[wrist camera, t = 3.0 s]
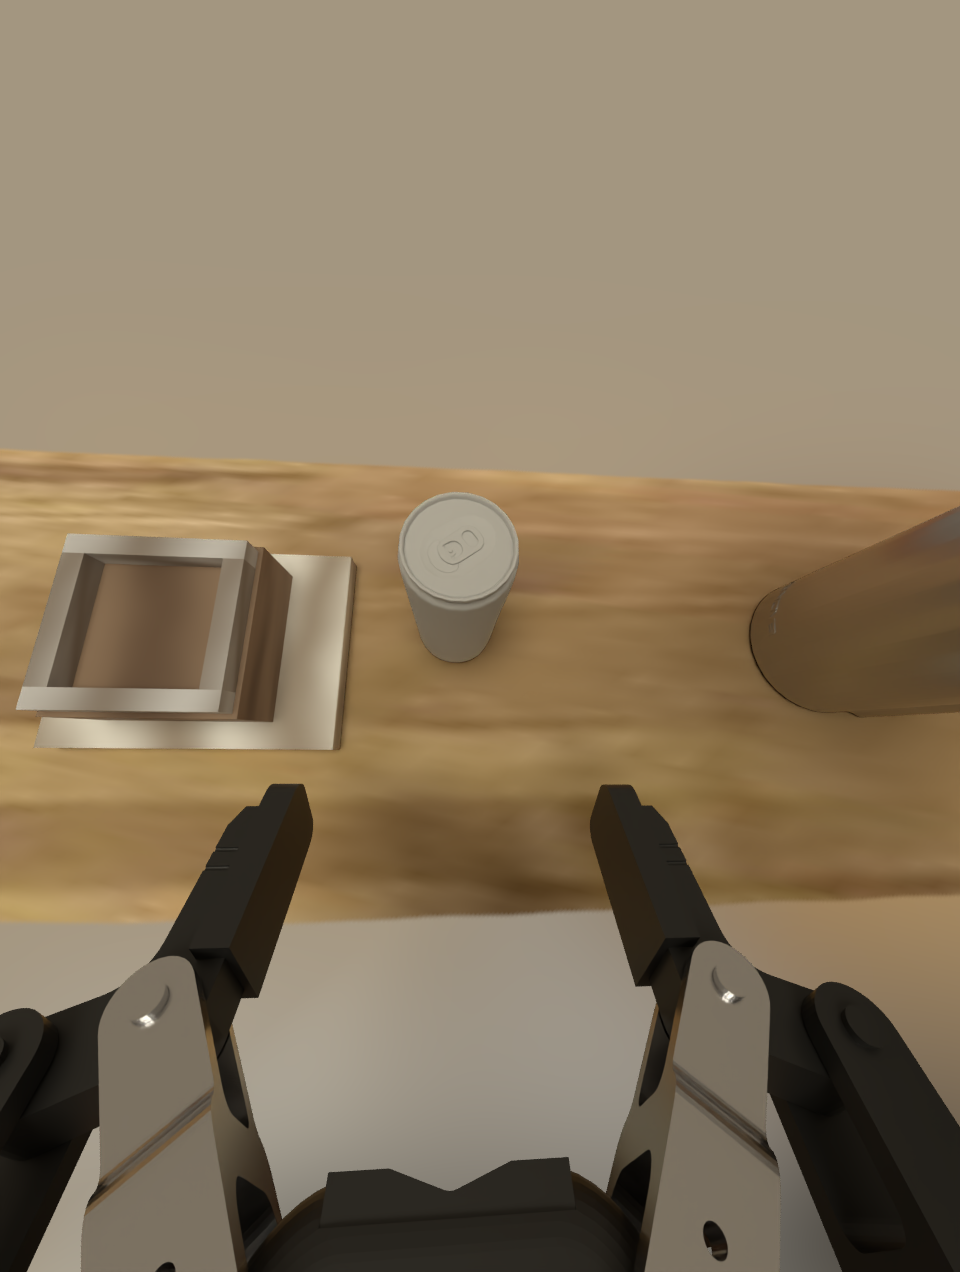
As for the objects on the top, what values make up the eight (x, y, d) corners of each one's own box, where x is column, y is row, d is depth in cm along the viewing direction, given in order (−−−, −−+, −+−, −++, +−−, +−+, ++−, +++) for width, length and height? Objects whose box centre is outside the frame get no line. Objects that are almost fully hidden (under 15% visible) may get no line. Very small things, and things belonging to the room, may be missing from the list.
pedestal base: (356, 566, 27) (326, 513, 21) (339, 748, 24) (298, 753, 18) (109, 557, 26) (-4, 498, 20) (59, 746, 23) (-93, 750, 17)
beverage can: (405, 620, 26) (369, 529, 15) (463, 581, 27) (472, 467, 16) (447, 678, 26) (444, 630, 14) (506, 636, 27) (548, 558, 15)
